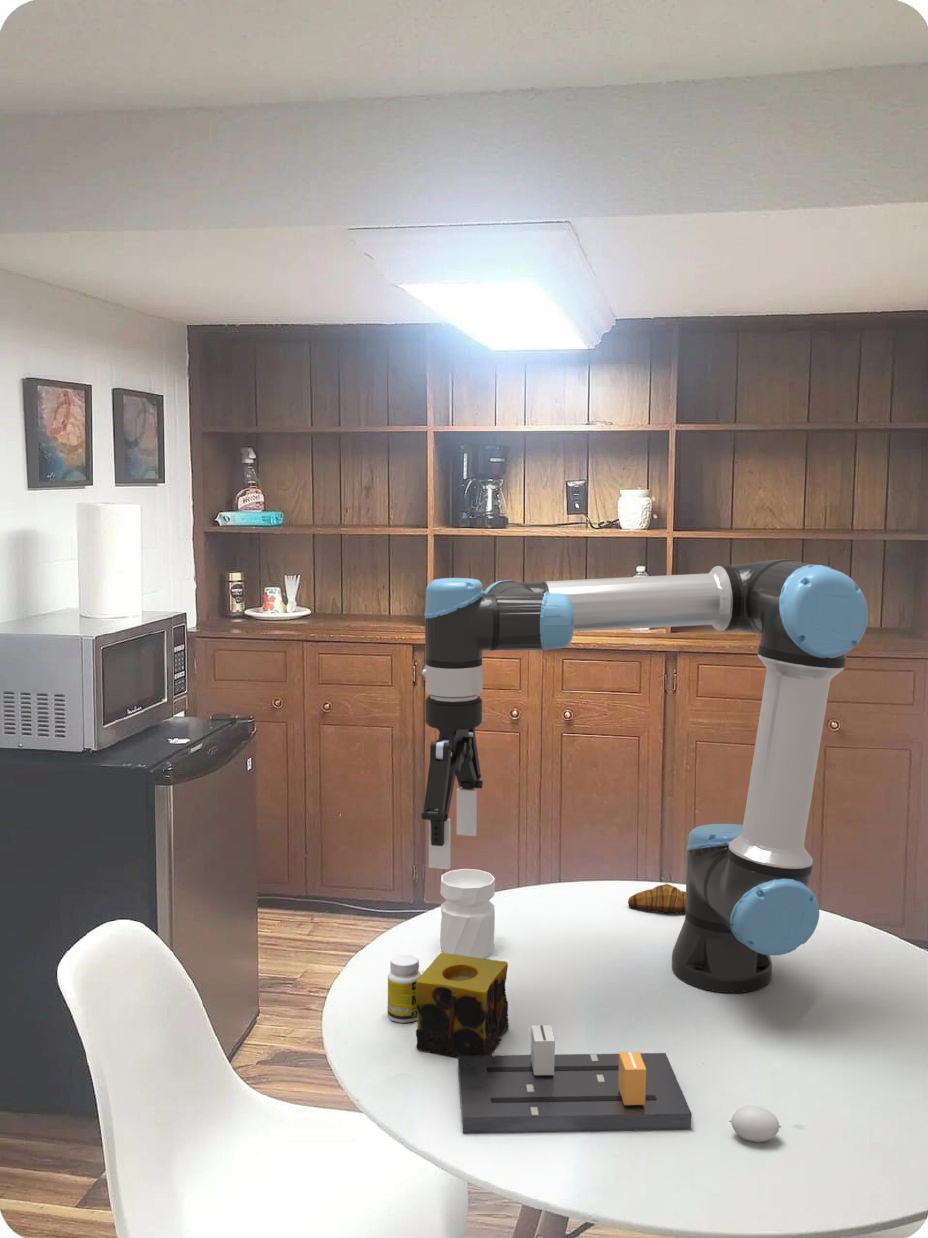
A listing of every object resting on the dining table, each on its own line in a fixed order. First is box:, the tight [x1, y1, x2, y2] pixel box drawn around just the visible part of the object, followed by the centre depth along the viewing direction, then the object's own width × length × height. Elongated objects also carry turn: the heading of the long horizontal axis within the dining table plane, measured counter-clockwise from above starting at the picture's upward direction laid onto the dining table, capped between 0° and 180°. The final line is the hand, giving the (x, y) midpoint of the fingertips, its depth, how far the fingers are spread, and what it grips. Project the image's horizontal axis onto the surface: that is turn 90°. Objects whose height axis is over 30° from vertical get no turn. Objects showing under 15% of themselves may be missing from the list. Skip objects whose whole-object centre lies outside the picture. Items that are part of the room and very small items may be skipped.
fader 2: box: [618, 1051, 646, 1105], centre depth 138 cm, size 2×4×5 cm, turn 2°
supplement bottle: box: [387, 953, 422, 1024], centre depth 162 cm, size 5×5×8 cm
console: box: [457, 1052, 693, 1134], centre depth 142 cm, size 27×14×2 cm, turn 93°
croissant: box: [627, 883, 686, 915], centre depth 202 cm, size 14×7×5 cm, turn 83°
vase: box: [439, 868, 496, 959], centre depth 184 cm, size 9×9×12 cm
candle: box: [415, 952, 510, 1058], centre depth 155 cm, size 10×10×10 cm
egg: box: [728, 1105, 782, 1143], centre depth 134 cm, size 4×6×4 cm, turn 80°
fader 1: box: [530, 1024, 556, 1075], centre depth 145 cm, size 2×4×5 cm, turn 3°
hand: (453, 850), depth 154 cm, fingers open, 13 cm apart
